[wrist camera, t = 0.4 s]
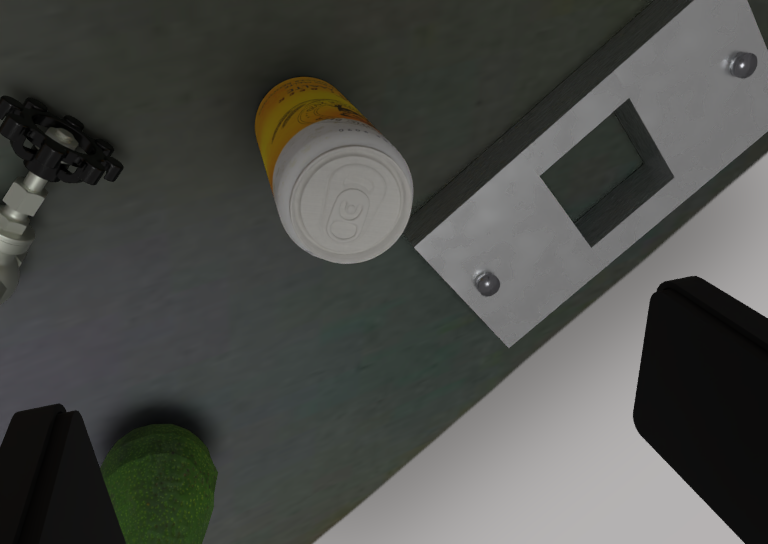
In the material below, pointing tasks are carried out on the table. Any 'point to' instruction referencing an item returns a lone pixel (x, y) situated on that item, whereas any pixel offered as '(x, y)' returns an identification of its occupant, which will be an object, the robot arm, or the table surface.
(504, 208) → the gray block with hole
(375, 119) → the table surface
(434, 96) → the table surface
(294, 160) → the beer can
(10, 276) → the valve
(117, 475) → the avocado
